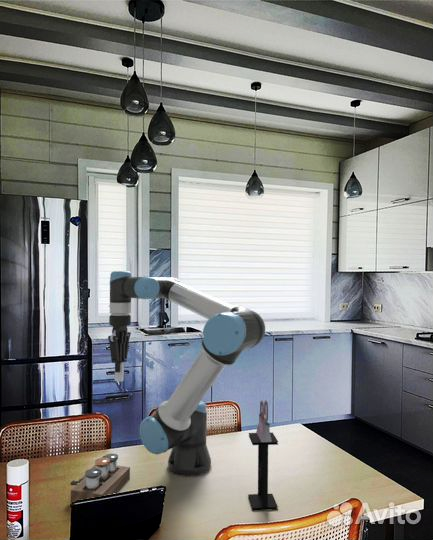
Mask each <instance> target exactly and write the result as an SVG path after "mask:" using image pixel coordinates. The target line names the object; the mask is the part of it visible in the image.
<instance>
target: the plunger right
mask: <svg viewBox="0 0 433 540" xmlns="http://www.w3.org/2000/svg"><path fill="white" fill-rule="evenodd" d="M103 456H104V458H109V459H110V463H109V464H108V473H110V474H114V473H115V472H116V471H117V466H118V465H117V464H118V462H117V461H118V459H119V455H118V454H117V453H108V454H107V453H106V454H105V455H103Z"/></svg>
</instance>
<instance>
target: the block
mask: <svg viewBox="0 0 433 540" xmlns="http://www.w3.org/2000/svg"><path fill="white" fill-rule="evenodd" d="M130 480H131V467H130V466H123V465H117V471H116V472H115V473H114V474H110V473H108V480H107V481H106V482H100V481H99V488H98V489H97V490H96V491H91V490H86V478H85V479H83V480H82V481H81V482H80V483H77V485H74V487H72V489H71V490H70V504H71V503H72V502H73V501H76V500H81V499H87V498H92V497H99V496H104V495H108V494H113V493H116V494H118V493H119V491H121V490H122V489H123V487H124V486H125V485H126V484H127V483H128V482H129V481H130Z"/></svg>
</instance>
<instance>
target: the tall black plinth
mask: <svg viewBox="0 0 433 540" xmlns="http://www.w3.org/2000/svg"><path fill="white" fill-rule="evenodd" d="M268 420H269V403H268V400H267V399H266V400H260V405H259V413H258V424H257V427H256V432H248V438H249V439H250V442H251V445H252V446H257V449H258V450H257V493H252V494H251V493H250V494H249V493H248V494H247V496H248V497H247V498H248V501H249V505H250V508H251V510H252V512H253V511H278V510H279V509H278V508H279V506H278V503H277V502H276V499H275V497H274V495H273V493H269V446H271V445H273V446H276V445H277V446H278V445H279V441H278V439H277V437H276V435H275V434H274V432H271V431H270V429H271V428H270V426H271V425H270V423H269V422H268Z"/></svg>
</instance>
